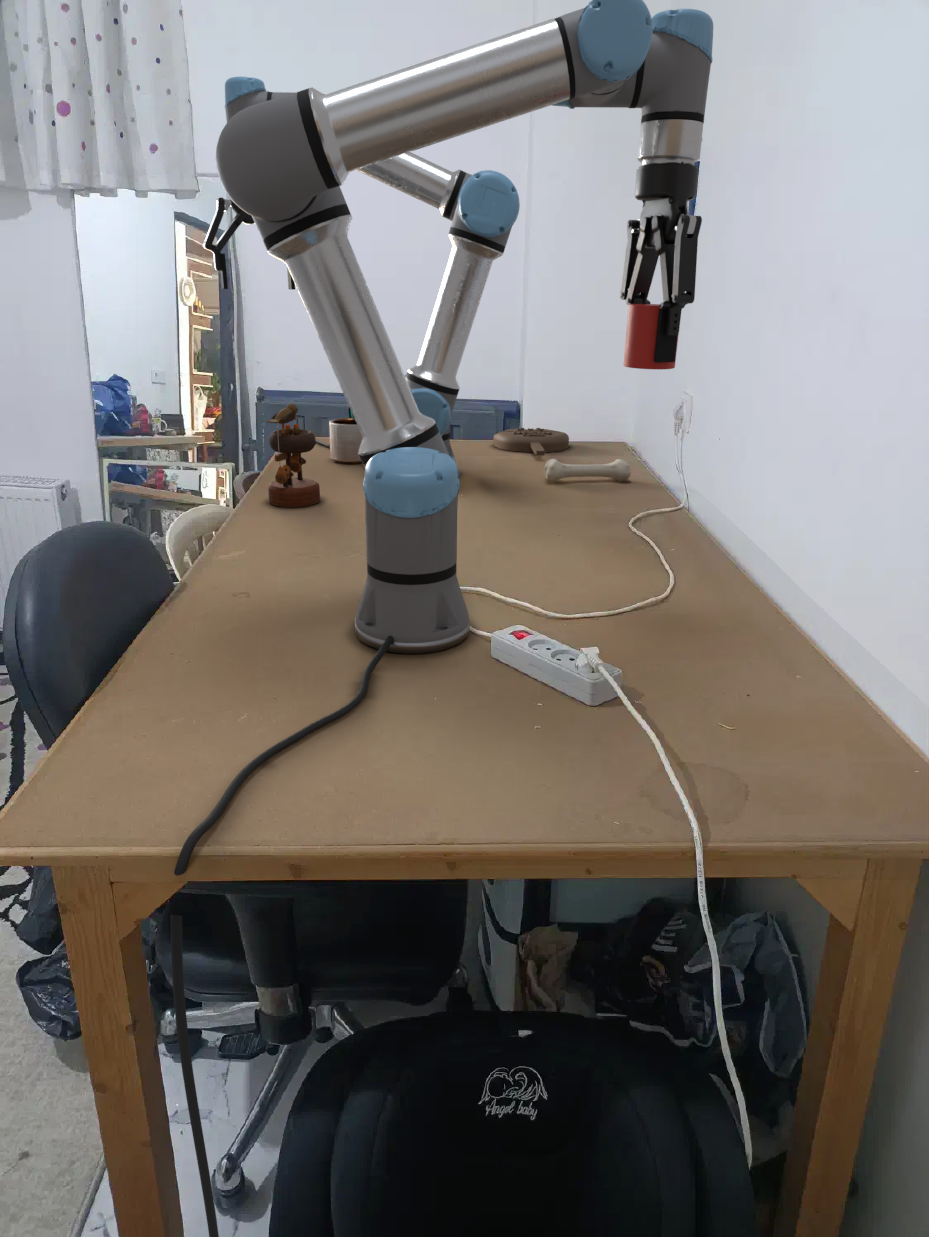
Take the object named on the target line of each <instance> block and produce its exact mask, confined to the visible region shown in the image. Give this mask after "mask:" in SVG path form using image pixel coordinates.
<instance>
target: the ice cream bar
mask: <svg viewBox="0 0 929 1237" xmlns="http://www.w3.org/2000/svg"><path fill="white" fill-rule="evenodd" d="M492 441H493V443H492V444H493V447H495V448H497V449H500V450H504V451H511V452H523V453H533V454H534V455H535V456H539V457H541V456H545V453H552V452H553V453H554V452H560V451H564V450H567V449H568V448H569V446H570V436H569V435H568V434H567V433H566V432H563V431H559V430H554V429H547V428H541V427H536V428H533V427H532V428H530V427H528V428H527V429H526V428H525V427H520V428H511V429H505V430H502V431H498V432H496V433H495V434H494V436H493V440H492Z"/></svg>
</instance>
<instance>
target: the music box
mask: <svg viewBox="0 0 929 1237" xmlns="http://www.w3.org/2000/svg"><path fill="white" fill-rule="evenodd" d="M298 411H299V408H298V406H297V405H296V404H295V403H288V404H287V405H286V407H285V408H282V409H280V410H279V411H277V412H276V413H274V415H273V416H272V417H271V418H270V419H268V420H266V423H268V424H277V426H276V430H274V431H272V432H271V433H270V434H269V437H268V444H269V447H270V449H272V450H273V451H274V452H276V453H278V454H275V455H274V462H278V463H281V462H282V461H285V464H284V465H282V466H281V465H279V466H278V468H277V471H276V473H275V476H274V479H275V480H273V481H271V482H270V483H269V484H268V485H267V494H268V495H267V496H268V502H269V504H271V505H274V506H277V507H286V508H296V507H297V508H299V507H307V506H311V505H312V506H313V505H315V504H318V503H319V502H320V501H321V490H320V489H321V488H320V484H319V482H317V481H316V480H315V479H312V478H305V477H303V465H306V464H307V459H305V458H303V457H302V454H303V453H309V452H311V451H313V449H314V448H315V446H316V444H317V443H316V440H317V439H316V435H315V434H314V433H313V432H312V431H311V430H309V429H305V428H303V429H302V428H300V427H299V424H298V423H295V424H293V427H292V428H291V424H290V422H293V421H297V413H298ZM279 425H281V429H279ZM294 473H296V475H297V476H296V477H294Z"/></svg>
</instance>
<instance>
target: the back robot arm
mask: <svg viewBox="0 0 929 1237" xmlns="http://www.w3.org/2000/svg"><path fill="white" fill-rule="evenodd" d="M293 93H294V92H291V91H290V92H285V91H284V92H283V91H282V92H281V91H277V92H276V91H275V92H274V91H269V90H267V88H266V85H265V82H264V80H262V79H259V78H257V77H249V76H232V77H229V78H228V79H226V81H225V83H224V110H225V118H226V123H227V122H228V121H229V120H230V119H231V118H232V117H233V116H234V115H235V114H236V113H238V112H239V111H241V110H243V109H245V108H247V107H249V106H252V105H255V104H258V103H262V102H265V101H268V100H272V99H275V98H279V97H283V96H286V95H290V94H293ZM356 171H357V172H359V173H362V174H363V175H366V176H368V177H370V178H372V179H374V180H376V181H378V182H381V183H382V184H385V185H387V186H389V187H391V188H393V189H395V190H398V191H400V192H403V193H404V194H406V195H408V196H410V197H412V198H414V199H417V200H419V201H421V202H422V203H424V204H425V203H426V204H427V205H429V206H432V207H434V208H436V209H438V210H439V213H440V215H441V217H442V218H445V219H447V220H449V221H451V224H450V227H449V231H448V235H447V236H448V238H449V241H450V242H451V249H450V250H451V251H450V253H449V257H448V262H447V264H446V267H445V271H444V273H443V277H442V280H441V284H440V287H439V291H438V294H437V297H436V301H435V304H434V307H433V311H432V313H431V316H430V320H429V324H428V327H427V330H426V334H425V336H424V340H423V343H422V347H421V350H420V353H419V357H418V360H417V363H416V364H415V365H413V366H411V367H410V368H407V372H406V373H404V376H405V378H406V381H407V383H408V385H409V388H410V390H411V393H412V395H413V398H414V400H415V402H416V405H417V407H418V410H419V412H420V413H422V414H423V415H425V416H428V417H430V418H432V419H434V420H435V422H436V425H437V427H438V430H439V432H440V435H441V437H442V439H443V442H444V444H445V447H446V449H447V450H448V451H449V452H450V454H451V456H453V458H454V460H455V462H456V463H457V461H456V457H455V455H454V451H453V448H452V444H451V441H450V440H451V423H452V414H453V410H454V407H455V404H456V401H457V398H458V395H459V392H460V389H461V386H460V384H459V382H458V379H457V376H458V371H459V369H460V366H461V362H462V359H463V356H464V354H465V353H464V352H465V350H466V347H467V344H468V340H469V338H470V334H471V331H472V329H473V325H474V323H475V322H474V321H475V318H476V316H477V313H478V309H479V307H480V303H481V300H482V297H483V294H484V291H485V287H486V285H487V281H488V278H489V275H490V272H491V269H492V266H493V262H494V261H495V260H497V259H499V258H501V257H502V256H503V255H504V252H505V249H506V246H507V244H508V240H509V238H510V234H511V231H512V228H513V226H514V224H515V223H516V221H517V219H518V216H519V212H520V204H521V203H520V196H519V192H518V189H517V188H516V186H515V183H513V181H512V180H511V179H510V178H509V177H507V176H506V175H505V174H503V173H502V172H499V171H496V170H490V169H489V170H488V169H484V170H480V171H477V172H476V173H473V174H470V173H468V172H466V171H464V170H463V169H457V170H455V171H451V170H449V169H447V168H445V167H442V166H441V165H439V164H437V163H434V162H432V161H430V160H429V159H426V158H424V157H421V156H420V155H417V154H415V153H414V152H412V151H411V152H408V153H405V154H402V155H399V156H396V157H393V158H390V159H387V160H384V161H381V162H378V163H375V164H372V165H369V166H366V167H363V168H360V169H357V170H356ZM229 207H230V208H231V209H232V210H233V212H234V213H235V214H236V215H235V216H234V217H233V219H232V220H231V222H230V224H229V225H228V226H227V228H226V229H225V230H224V231H223V233H222V234H221V236H220V237H219V239H218V240H217V242H216V243H215V244H213V243H214V241H215V238H216V235H217V232H218V230H219V227H220V225H221V223H222V219H223V217H224V214H225V212H227V211H228V210H229ZM242 223H243V224H244V225H256V224H255V222H254V220H253V218H252V215H249V214H248V213H246V212H245V211H243V210H242V209H240V208H239V207H238V206H237V205H236V204H235V203H234V202H233V201H232V200H231V199H225V198H224V197H218V198H217V199H216V201H215V212H214V215H213V217H212V220H211V223H210V224H209V227H208V230H207V233H206V235H205V238H204V240H203V243H202V248H203V249H204V250H207V251H209V252H211V253H212V255H213V266H214V270H215V272H216V271H218V272H219V273H220V283H221V284H220V285H221V289H222V290H228V289H229V286H228V284H229V283H228V274H227V260H226V253H223V252H221V251H222V250H223V249H224V247H225V246H226V245H227V243H228V242H229V241H230V239H231V238H232V237H233V235H234V233H235V232H236V231H237V230H238V228H239V227H240V226H241V225H242ZM286 268H287V286H288V287H287V288H288V290H293V291H294V290H296V285H295V283H294V280H293V278H292V276H291V274H290V271H289V269H288V267H287V266H286ZM315 444H319V445H322V446H324V447H327V448H329V449H330V443H326V442H324V441H321V440H318V439H316V443H315Z"/></svg>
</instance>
